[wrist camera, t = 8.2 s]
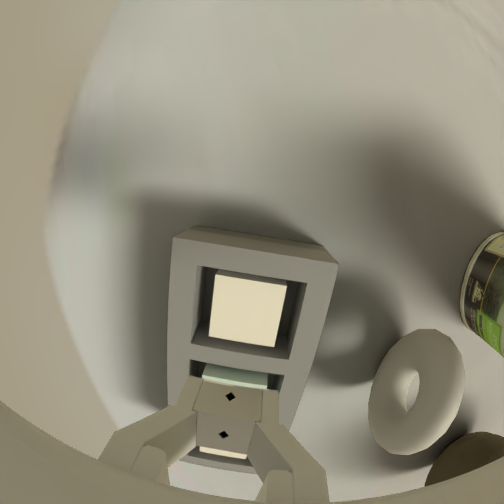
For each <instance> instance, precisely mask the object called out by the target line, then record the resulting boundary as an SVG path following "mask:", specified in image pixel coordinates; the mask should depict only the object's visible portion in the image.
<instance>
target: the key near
mask: <svg viewBox="0 0 504 504" xmlns="http://www.w3.org/2000/svg"><path fill="white" fill-rule="evenodd" d="M286 289H287V283H286V280H285V279H278V278H272V277H266V276H260V275H253V274H247V273H241V272H235V271H229V270H223V269H219V270H218V271H217V273H216V274H215V283H214V292H213V301H212V310H211V319H210V329H209V336H211V337H216V338H221V339H227V340H232V341H238V342H244V343H251V344H257V345H264V346H271V347H274V345H275V341H276V336H277V331H278V327H279V322H280V318H281V313H282V308H283V303H284V298H285V293H286Z"/></svg>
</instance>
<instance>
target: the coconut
mask: <svg viewBox="0 0 504 504" xmlns="http://www.w3.org/2000/svg"><path fill="white" fill-rule="evenodd" d="M502 457H504V437H502V436H499V435H496V434H491V433H488V432H475V433H470V434H467V435H465V436H463V437H461V438H459V439H457V440H456V441H454V442H453V443H451V444H450V445H449V446H448V447H447V448H446V449H445V450H444V451H443V452H442V454H441V455H440V456H439V457H438V459H437V460H436V461H435V463H434V464H433V466H432V468H431V470H430V472H429V474H428V476H427V479H426V482H425V487H426V486H429V485H433V484H436V483H439V482H443V481H446V480H449V479H452V478H454V477H457V476H460V475H463V474H465V473H468V472H470V471H473V470H475V469H478V468H480V467H482V466H485V465H487V464H489V463H491V462H493V461H496V460H498V459H500V458H502Z"/></svg>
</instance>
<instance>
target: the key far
mask: <svg viewBox="0 0 504 504" xmlns="http://www.w3.org/2000/svg"><path fill="white" fill-rule="evenodd" d="M200 451H201V452H206V453H211V454H216V455H222V456H228V457H234V458H241V459H246V457H247V455H246V454H240V453H234V452H229V451H223V450H218V449H212V448H206V447H201V446H200Z"/></svg>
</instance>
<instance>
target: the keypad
mask: <svg viewBox="0 0 504 504" xmlns="http://www.w3.org/2000/svg"><path fill="white" fill-rule="evenodd" d="M338 267H339V263H338V262H337V261H336V260H335V259H334V258H333V257H332V256H331V254H330V253H329V252H328V251H327V250H326V249H325V248H324V247H323V246H321V245H315V244H309V243H303V242H297V241H291V240H285V239H279V238H273V237H267V236H261V235H254V234H248V233H242V232H235V231H229V230H223V229H216V228H209V227H203V226H194V227H192V228H190V229H188V230H186V231H184V232H182V233H180V234H178V235H176V236H174V237H173V241H172V252H171V265H170V280H169V298H168V325H167V395H168V406H170V405H172V406H175V405H176V402H177V400H178V398H179V395H180V393H181V391H182V388H183V386H184V384H185V381H186V379H187V377H188V376H189V375H190V376H194V377H199V378H202V374H203V371H204V369H205V366H206V363H211V364H216V365H221V366H227V367H232V368H238V369H244V370H251V371H258V372H265V373H268V379H267V389H269V390H277V391H278V399H279V425H284V426H285V427H286V429H287V430H288V431H289V429H290V427H291V424H292V421H293V419H294V416H295V413H296V411H297V408H298V405H299V402H300V399H301V397H302V394H303V391H304V388H305V385H306V382H307V379H308V376H309V373H310V370H311V367H312V363H313V360H314V357H315V354H316V350H317V347H318V344H319V340H320V337H321V333H322V330H323V326H324V323H325V319H326V315H327V312H328V308H329V304H330V300H331V296H332V292H333V288H334V284H335V280H336V276H337V271H338ZM219 269H223V270H229V271H235V272H241V273H247V274H253V275H260V276H266V277H272V278H278V279H285V280H286V283H287V289H286V293H285V298H284V303H283V308H282V313H281V318H280V322H279V327H278V331H277V336H276V341H275V345H274V347H271V346H264V345H257V344H251V343H244V342H238V341H232V340H227V339H221V338H216V337H211V336H209V329H210V319H211V310H212V301H213V292H214V283H215V274H216V273H217V271H218V270H219ZM179 460H180V461H184V462H188V463H192V464H197V465H201V466H206V467H211V468H217V469H223V470H229V471H236V472H243V473H251V474H257V472H256V471H255V469H254V467H253V466H252V464H251V462H250V461H249V459H248V457H246V459H241V458H234V457H228V456H222V455H216V454H211V453H206V452H201V451H200V446H196V447H195V448H193V449H192V450H191V451H190V452H188V453H187V454H186V455H184V456H183V457H182V458H181V459H179Z"/></svg>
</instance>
